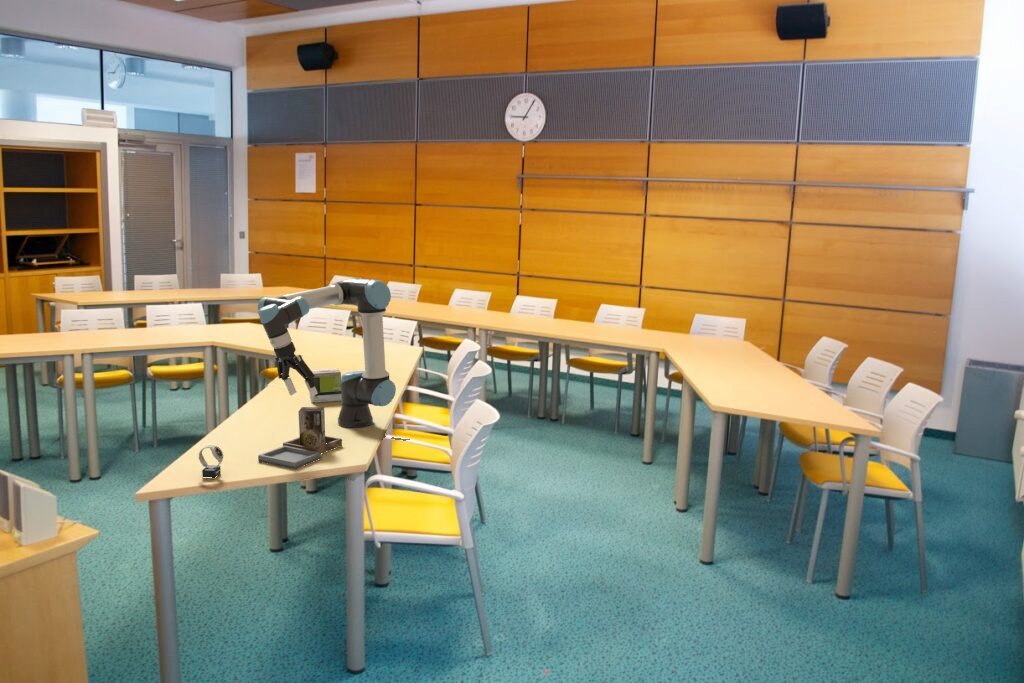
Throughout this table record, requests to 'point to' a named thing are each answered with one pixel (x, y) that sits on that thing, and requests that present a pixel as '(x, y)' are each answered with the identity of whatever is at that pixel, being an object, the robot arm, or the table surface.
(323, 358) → the table surface
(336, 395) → the tea box
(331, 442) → the collar
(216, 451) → the watch
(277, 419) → the table surface
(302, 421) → the coffee box
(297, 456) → the tray
